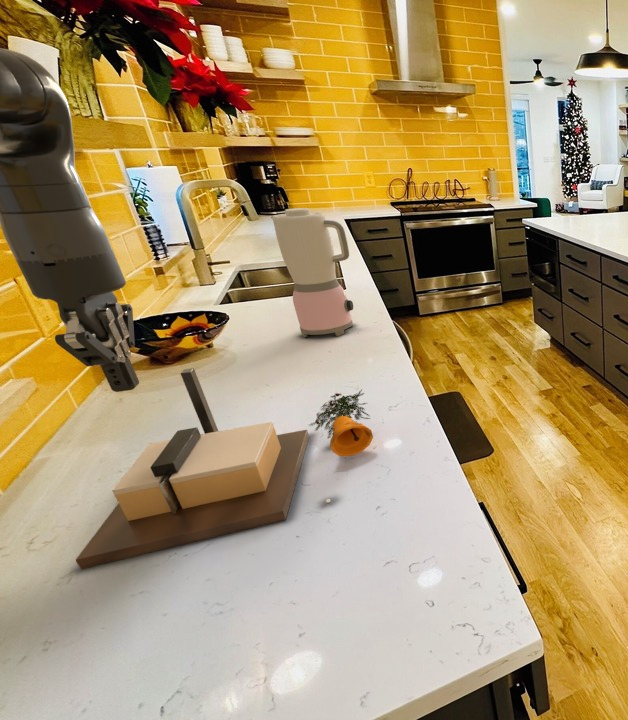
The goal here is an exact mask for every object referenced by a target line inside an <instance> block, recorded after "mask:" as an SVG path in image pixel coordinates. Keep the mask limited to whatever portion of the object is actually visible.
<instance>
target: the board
mask: <svg viewBox="0 0 628 720" xmlns="http://www.w3.org/2000/svg"><path fill="white" fill-rule="evenodd" d="M180 376H181V379H182V382H183V383H184V386H185V388H186V391H187V393H188V396H189V398H190V401H191V404H192V406H193V409H194V410H195V414H196V416H197V419H198V420H199V423H200V425H201V428H202V430H203V434H206V433H212V432H217V431H219V429H218V427H217V424H216V421H215V418H214V416H213V413H212V411H211V409H210V406H209V404H208V400H207V397H206V395H205V393H204V391H203V387H202V385H201V382H200V380H199V377H198V375H197V372H196V370H195V368H194V367H192V368H184V369H183V370H182V371H181V372H180ZM309 434H310V433H309V432H308V429H303V430H296V431H292V432H286V433H280V434H277V437H278V440H279V443H280V446H281V449H280V452H279V455H278V458H277V461H276V463H275V466H274V469H273V472H272V474H271V477H270V480H269V483H268V485H267V488H266V491H262V492H258V493H253V494H249V495H244V496H240V497H235V498H231V499H226V500H221V501H217V502H212V503H208V504H203V505H199V506H194V507H190V508H185V509H182V507H180V508H179V510H178V512H177V513H176V514H172V512H167V513H162V514H158V515H153V516H149V517H144V518H140V519H135V520H131V521H128V520H127V518H126V516H125V514H124V512H123V510H122V508H121V507H120V505H119V503H117V504H116V506H115V507H114V508H113V510H112V511H110V514H109V515H108V516H107V518H106V519H105V520H104V521H103V523H102V524H101V525H100V527H99V528H98V529H97V531H96V532H95V533H94V535H93V536H92V537H91V538H90V540H89V541H88V543H87V544H86V546H85V547H83V549H82V551H81V552H80V553H79V554H78V556H76V558H75V562H76V564H77V565H78V566H79V569H80V570H83V569H87V568H91V567H96V566H100V565H105V564H107V563H112V562H116V561H120V560H124V559H129V558H132V557H136V556H137V557H138V556H140V555H145V554H149V553H153V552H158V551H161V550H166V549H170V548H174V547H179V546H183V545H187V544H190V543H195V542H199V541H203V540H207V539H211V538H215V537H219V536H224V535H229V534H232V533H237V532H241V531H244V530H248V529H249V530H250V529H253V528H258V527H261V526H265V525H269V524H274V523H278V522H281V521H286V520H287V517H288V513H289V510H290V506H291V503H292V500H293V496H294V492H295V489H296V486H297V485H296V484H297V482H298V477H299V475H300V470H301V467H302V464H303V460H304V456H305V453H306V450H307V446H308V442H309V439H310V435H309Z"/></svg>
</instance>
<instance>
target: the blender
mask: <svg viewBox="0 0 628 720" xmlns="http://www.w3.org/2000/svg"><path fill="white" fill-rule="evenodd" d="M270 219H272V222H273V227H274V230H275V237H276V241H277V243H278V246H279V250H280V251H279V252H280V255H281V257H282V260H283V262H284V264H285V266H286V268H287V270H288V273H289V275H290V277H291V279H292V281H293V283H294V285H293V286H294V287H293V293H292V304H293V307H294V311H295V314H296V317H297V320H298V324H299V329H300V332H301V335H302V337H303V338H308V335H312V336H317V335H319V336H320V335H327V334H334V335H335V336H336V337H340V336H343V335H345V330H346V329H348V328H352V327H353V326H354V323H353V319H352V315H351V311H353V310H354V303H353V301H352V300H351V299H348V297H347V294H346V291H345V289H344V288H343V286H342V285H341V284H340V283H339V281H338V279H337V273H336V263H338V262H342V261H346V260H348V259H349V257H350V251H349V245H348V240H347V235H346V232H345V228H344V226H343V225H342V224H341V223H340V222H338V221H336V220H328V219H326V217H325V214H324V213H322V212H317V211H315V212H314V211H311V209H310V208H309V207H308V208H307V207H294V208H287V209H284V213H281V214H276V215H271V216H270ZM329 228H333V229H335V230H336V233H337V238H338V242H339V246H340V251H341V253H340V254H335V250H334V246H333V242H332V237H331V234H330V229H329Z"/></svg>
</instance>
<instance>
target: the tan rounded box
mask: <svg viewBox="0 0 628 720" xmlns="http://www.w3.org/2000/svg"><path fill="white" fill-rule="evenodd" d="M200 435H201V437H200V439H199V440H198V442H197V443H196V445H195V446H194V448H193V449H192V451H191V452H190V454H189V456H188V457H187V459H186V460H185V462H184V463H183V465H182V466H181V468H180V469H179V471H178V473H174V474H172V475H171V477H170V478H169V481H170V483H171V485H172V487H173V489H174V491H175V494H176V496H177V498H178V500H179V502H180V505H181V507H182V509H185V508H190V507H194V506H199V505H203V504H208V503H212V502H217V501H221V500H226V499H231V498H235V497H240V496H244V495H249V494H253V493H258V492H262V491H266V488H267V485H268V483H269V480H270V477H271V474H272V472H273V469H274V466H275V463H276V461H277V458H278V455H279V452H280V449H281V446H280V443H279V440H278V437H277V435H278V434H277V432H276V428H275V426H274V423H273V421H269V422H263V423H258V424H252V425H246V426H241V427H235V428H234V427H233V428H230V429H224V430H218V431H217V432H212V433H206V434H205V433H200Z"/></svg>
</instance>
